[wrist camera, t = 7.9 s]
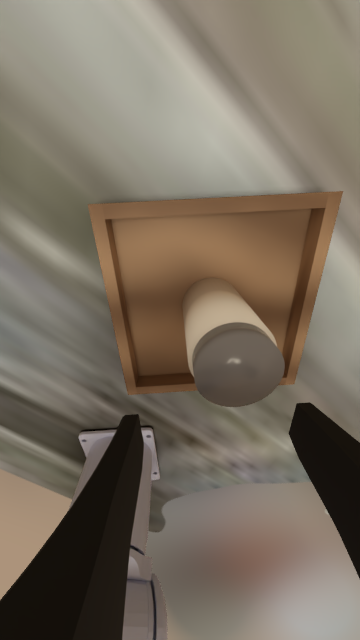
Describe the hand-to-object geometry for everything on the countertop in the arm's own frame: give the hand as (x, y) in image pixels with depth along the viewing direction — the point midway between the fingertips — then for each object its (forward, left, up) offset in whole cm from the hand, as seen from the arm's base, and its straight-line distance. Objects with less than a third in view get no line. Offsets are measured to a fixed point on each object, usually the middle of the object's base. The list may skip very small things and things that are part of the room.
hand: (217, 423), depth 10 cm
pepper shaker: (+2, -1, -9) cm, 9 cm away
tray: (+2, -1, -9) cm, 10 cm away
